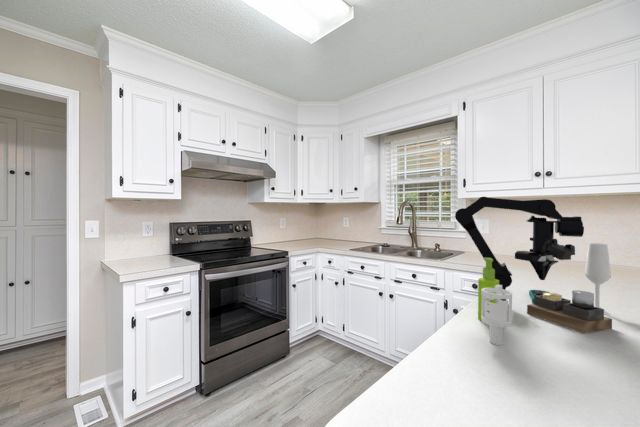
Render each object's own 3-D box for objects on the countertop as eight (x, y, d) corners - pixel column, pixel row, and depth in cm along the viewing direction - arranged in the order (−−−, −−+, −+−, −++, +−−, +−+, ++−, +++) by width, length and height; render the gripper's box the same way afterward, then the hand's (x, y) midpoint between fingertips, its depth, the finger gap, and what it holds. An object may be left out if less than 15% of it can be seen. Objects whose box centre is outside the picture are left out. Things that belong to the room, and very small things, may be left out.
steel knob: (586, 308, 86) (586, 295, 86) (568, 303, 91) (568, 291, 91) (598, 307, 88) (598, 294, 88) (579, 302, 93) (579, 289, 93)
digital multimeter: (550, 298, 120) (550, 291, 120) (556, 308, 107) (556, 300, 107) (528, 295, 124) (528, 288, 124) (532, 305, 111) (532, 297, 111)
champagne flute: (589, 307, 107) (590, 242, 106) (614, 313, 101) (615, 244, 100) (580, 310, 104) (581, 243, 104) (605, 316, 98) (605, 245, 98)
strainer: (514, 342, 78) (514, 286, 78) (508, 351, 73) (508, 291, 73) (485, 334, 83) (485, 282, 83) (477, 342, 78) (478, 286, 78)
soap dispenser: (495, 316, 97) (496, 257, 97) (501, 324, 91) (501, 260, 90) (476, 314, 99) (476, 256, 99) (480, 321, 93) (480, 259, 92)
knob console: (583, 333, 84) (584, 312, 84) (527, 313, 100) (527, 296, 100) (611, 328, 87) (612, 308, 87) (552, 310, 104) (552, 293, 104)
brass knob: (554, 309, 95) (554, 297, 95) (539, 304, 100) (539, 293, 100) (565, 308, 96) (565, 296, 96) (549, 303, 101) (549, 292, 101)
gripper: (545, 237, 91) (544, 287, 91) (589, 237, 96) (588, 284, 96) (513, 234, 102) (513, 279, 102) (554, 234, 107) (553, 276, 107)
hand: (542, 279), depth 102 cm, fingers closed
